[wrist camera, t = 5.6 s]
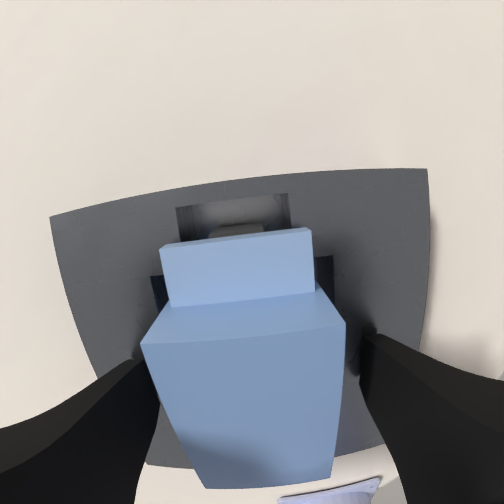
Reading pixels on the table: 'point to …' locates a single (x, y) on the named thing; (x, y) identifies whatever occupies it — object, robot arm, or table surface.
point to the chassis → (272, 218)
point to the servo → (249, 357)
